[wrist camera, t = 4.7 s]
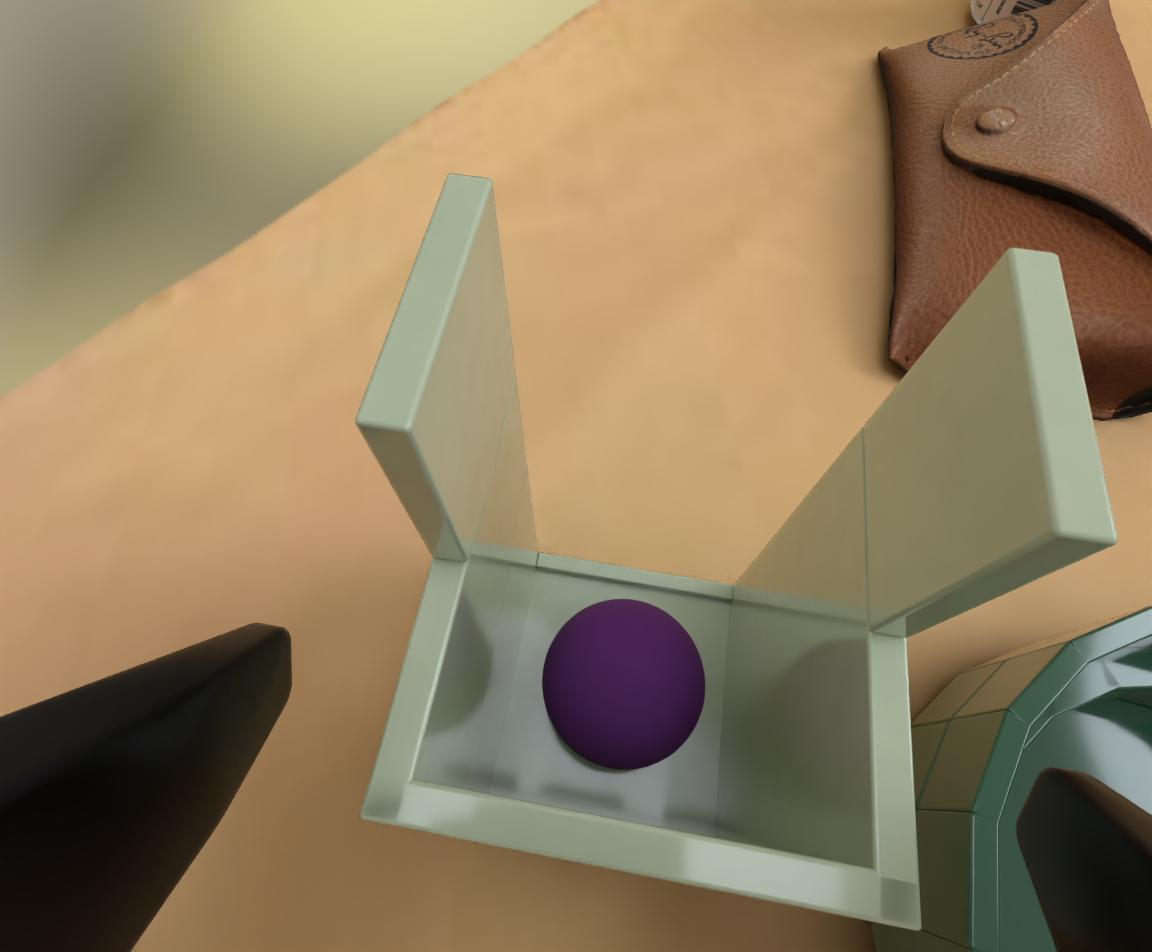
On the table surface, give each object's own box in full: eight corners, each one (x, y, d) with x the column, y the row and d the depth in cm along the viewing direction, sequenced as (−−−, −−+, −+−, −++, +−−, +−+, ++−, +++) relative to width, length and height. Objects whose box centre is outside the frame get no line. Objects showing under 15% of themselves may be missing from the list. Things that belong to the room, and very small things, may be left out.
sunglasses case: (866, 38, 28) (1034, -123, 23) (963, 131, 31) (1132, 8, 25) (883, 378, 20) (1145, 257, 15) (1010, 461, 23) (1268, 384, 18)
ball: (606, 826, 14) (624, 779, 11) (511, 697, 16) (507, 629, 13) (719, 723, 16) (759, 661, 13) (621, 616, 17) (638, 541, 15)
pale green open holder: (729, 855, 15) (1232, 1058, 4) (468, 803, 15) (189, 843, 4) (745, 595, 18) (1060, 250, 6) (522, 558, 18) (446, 170, 7)
